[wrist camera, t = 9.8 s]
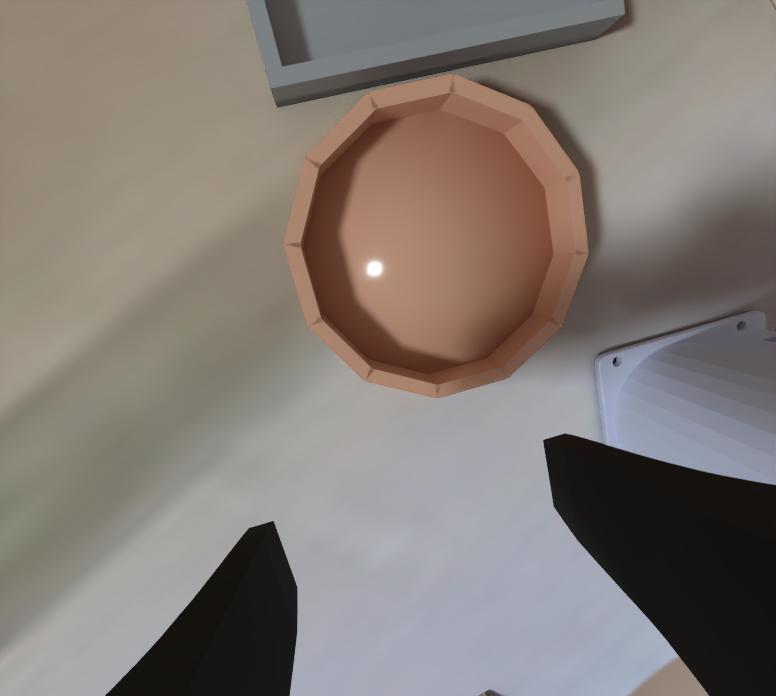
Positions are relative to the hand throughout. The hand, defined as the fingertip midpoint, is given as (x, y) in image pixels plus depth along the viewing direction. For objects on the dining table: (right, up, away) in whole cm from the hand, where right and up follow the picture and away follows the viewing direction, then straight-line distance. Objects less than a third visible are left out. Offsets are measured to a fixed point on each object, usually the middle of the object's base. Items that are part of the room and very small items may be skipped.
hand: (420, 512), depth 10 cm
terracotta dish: (+1, +9, +8) cm, 12 cm away
